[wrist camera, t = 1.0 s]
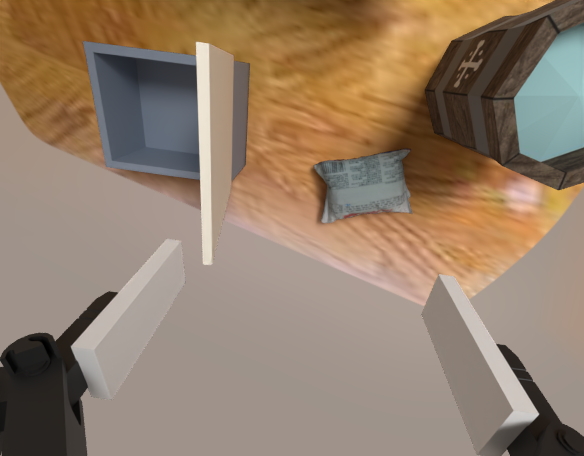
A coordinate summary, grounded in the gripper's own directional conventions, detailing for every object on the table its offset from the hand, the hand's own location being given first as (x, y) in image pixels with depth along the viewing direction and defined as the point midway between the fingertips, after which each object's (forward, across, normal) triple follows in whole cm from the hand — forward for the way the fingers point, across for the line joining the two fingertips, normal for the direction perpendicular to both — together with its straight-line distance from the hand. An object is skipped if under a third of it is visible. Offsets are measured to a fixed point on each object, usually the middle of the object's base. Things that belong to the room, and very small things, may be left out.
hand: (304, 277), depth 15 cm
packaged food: (+26, +7, -4) cm, 28 cm away
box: (+26, -16, +3) cm, 31 cm away
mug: (+27, +20, +11) cm, 36 cm away
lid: (+11, -8, +3) cm, 14 cm away
